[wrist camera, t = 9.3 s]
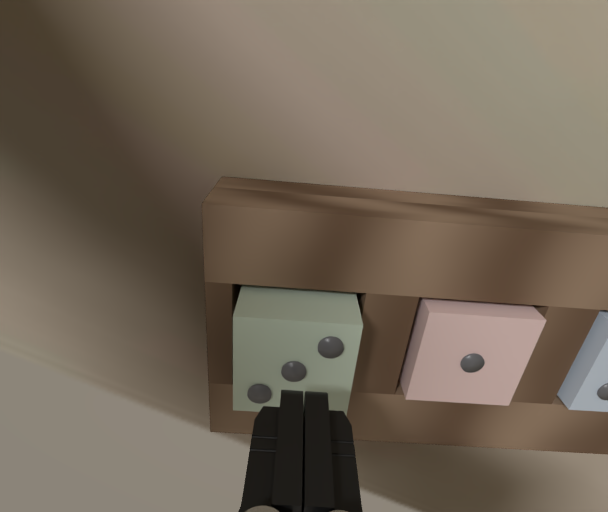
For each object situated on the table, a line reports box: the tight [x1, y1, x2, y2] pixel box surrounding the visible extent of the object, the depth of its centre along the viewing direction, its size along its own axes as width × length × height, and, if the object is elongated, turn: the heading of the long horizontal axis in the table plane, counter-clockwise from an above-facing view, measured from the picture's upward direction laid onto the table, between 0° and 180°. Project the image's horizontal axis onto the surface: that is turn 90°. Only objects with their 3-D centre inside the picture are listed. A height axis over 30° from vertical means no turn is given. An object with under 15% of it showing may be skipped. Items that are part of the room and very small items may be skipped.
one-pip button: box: [399, 297, 547, 406], centre depth 16 cm, size 4×4×2 cm
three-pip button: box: [233, 284, 363, 416], centre depth 15 cm, size 4×4×2 cm
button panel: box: [202, 177, 608, 454], centre depth 17 cm, size 21×11×4 cm, turn 85°
